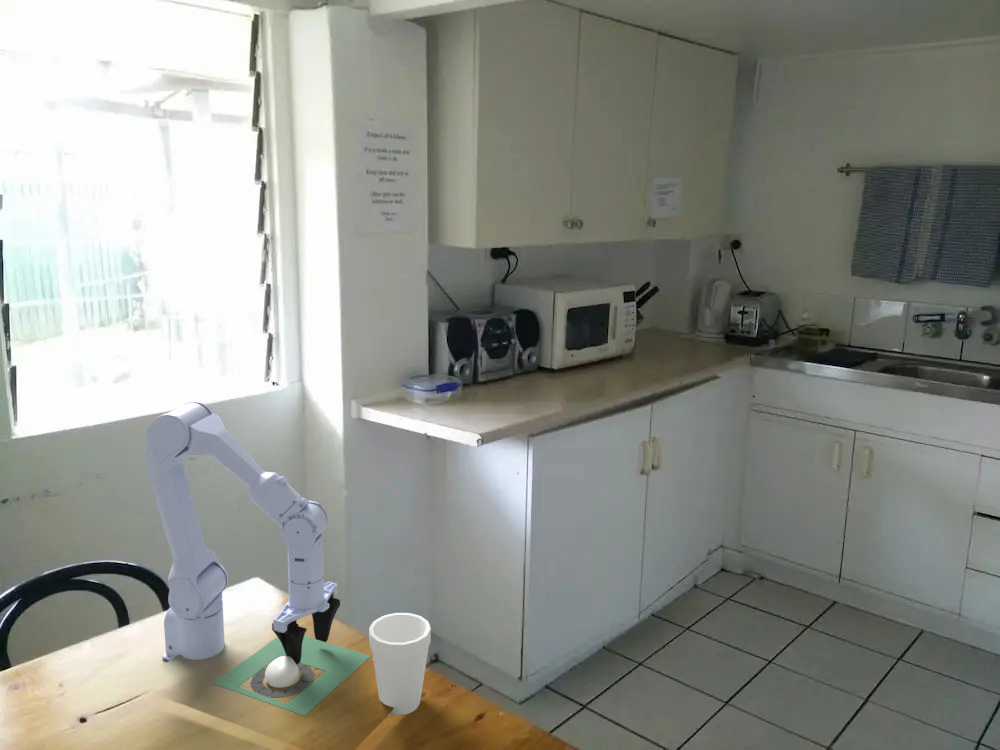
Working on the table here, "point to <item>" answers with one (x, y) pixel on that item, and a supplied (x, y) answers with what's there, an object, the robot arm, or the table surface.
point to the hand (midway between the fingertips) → (308, 650)
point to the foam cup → (400, 659)
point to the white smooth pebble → (282, 672)
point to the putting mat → (314, 654)
